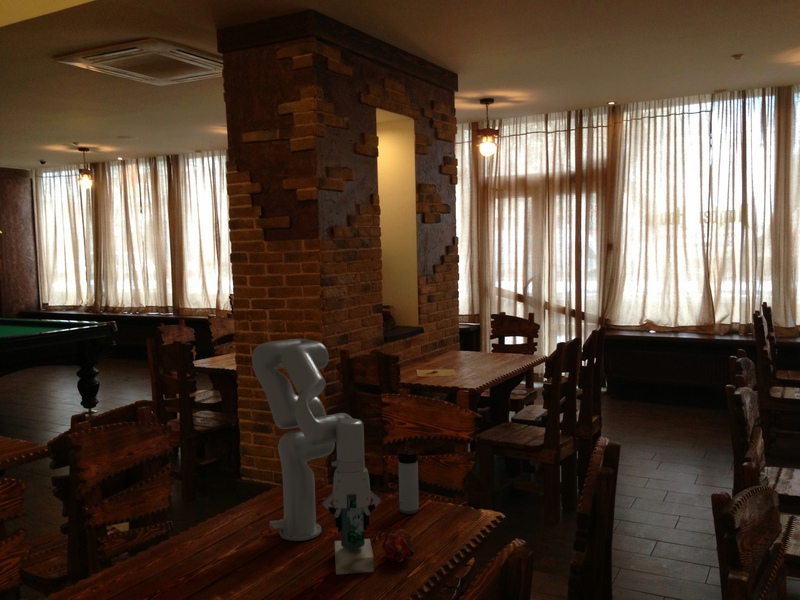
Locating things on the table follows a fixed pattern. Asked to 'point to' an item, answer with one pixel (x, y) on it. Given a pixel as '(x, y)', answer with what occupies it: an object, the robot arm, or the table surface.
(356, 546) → the can
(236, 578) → the table surface
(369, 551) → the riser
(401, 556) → the dragon fruit
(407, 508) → the travel mug
